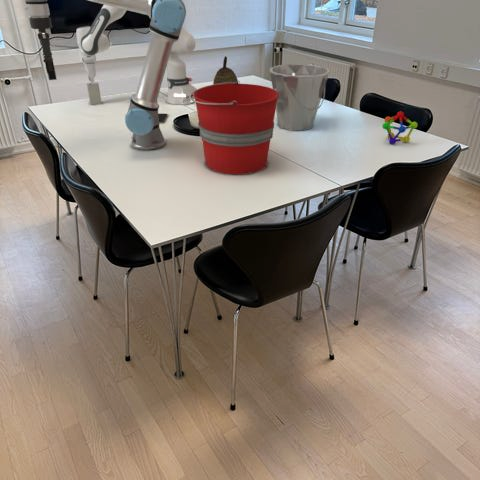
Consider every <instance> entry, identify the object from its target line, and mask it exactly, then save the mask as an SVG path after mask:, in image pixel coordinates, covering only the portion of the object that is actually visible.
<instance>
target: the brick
mask: <svg viewBox="0 0 480 480" xmlns="http://www.w3.org/2000/svg"><path fill="white" fill-rule="evenodd" d="M86 87H87V93H88V98H89V103H90V105H93V106H94V105H101V104H103V102H102V96H101V90H100V85H99V83H98V82H94V84H91V82H89V83H88V82H87V83H86Z"/></svg>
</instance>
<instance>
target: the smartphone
mask: <svg viewBox="0 0 480 480" xmlns="http://www.w3.org/2000/svg"><path fill="white" fill-rule="evenodd" d="M168 116H169V114H168V113H158V117H159V124H164V123H165V121H166V120H167V117H168Z"/></svg>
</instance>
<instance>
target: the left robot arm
mask: <svg viewBox="0 0 480 480" xmlns="http://www.w3.org/2000/svg"><path fill="white" fill-rule="evenodd" d="M24 1H25V6H24V9H25V10H26V11H27V15H28V16H29V18H28V20H29V25H30V28H31V29H32V30H37V32H38V33H37V39H38V41H39V44H40V46H41V49H42V50H41V51H42V55H43V63H44V65H45V70H46V73H47V75H48V80H49V81H54V80H57V74H56V69H55V64H54V58H53V53H52V51H51V41H50V34H49V32H47V30H48V29H52V28H53V24H52V18H51V17H50V15H51V12H50V8H49V3H48V0H24ZM87 1H89V2H92V3H97V4H99V5H100V4H101V5H108V6H112V7H117V8H121V9H125V10H126V11H129V12H134V13H138V14H141V15H146V16H148V17H149V19H150V23H149V26H148V30H149V32H150V35H151V36H150V39H149V43H148V46H147V47H148V48H147V51H146V55H145V58H144V62H143V66H142V72H141V73H140V78H139V82H138V85H137V90H136V93H134V94H131V95H130V97H129V105H128V109H127V112H126V114H125V116H124V124H125V126H126V128H127V129H128V131H129V132H131V133H132V135H131V142H130V143H131V147H132V148H134V149H135V150H141V151H151V150H153V151H154V150H157V149H161V148H163V147H164V146H165V144H166V140H165V137H164V135H163V132H162V130H161V127H160V123H159V117H158V114H159V108H160V105H159V102H158V98H159V94H160V91H161V88H162V85H163V80H164V77H165V73H166V71H167V63H168V60H169V56H170V53H171V49H172V45H173V43H174V42H176V41H178V39H179V36H180V32H181V29H182V26H184V23H185V19H186V15H187V14H186V13H187V9H186V5H185V3H184V2H183V0H87Z"/></svg>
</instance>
